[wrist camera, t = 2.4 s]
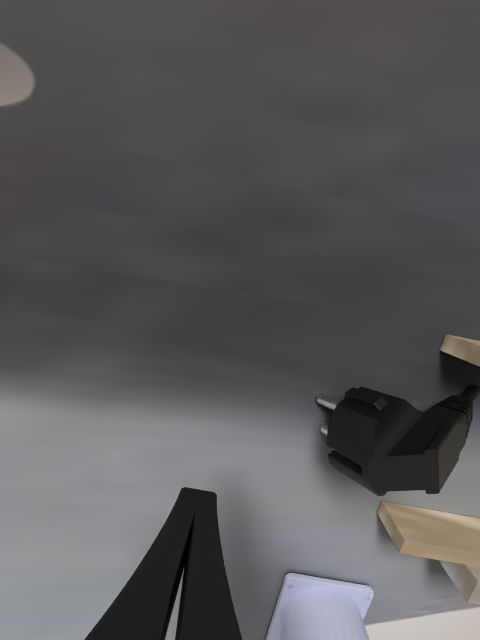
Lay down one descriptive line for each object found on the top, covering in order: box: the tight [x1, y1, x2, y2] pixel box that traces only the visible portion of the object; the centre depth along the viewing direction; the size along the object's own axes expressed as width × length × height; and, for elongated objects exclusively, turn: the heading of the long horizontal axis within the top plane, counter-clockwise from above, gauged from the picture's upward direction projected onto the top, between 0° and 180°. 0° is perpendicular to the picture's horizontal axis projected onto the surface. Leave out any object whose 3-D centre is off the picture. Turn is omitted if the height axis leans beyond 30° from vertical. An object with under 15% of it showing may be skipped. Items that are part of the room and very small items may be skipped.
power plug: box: [316, 385, 480, 496], centre depth 17 cm, size 6×8×12 cm
